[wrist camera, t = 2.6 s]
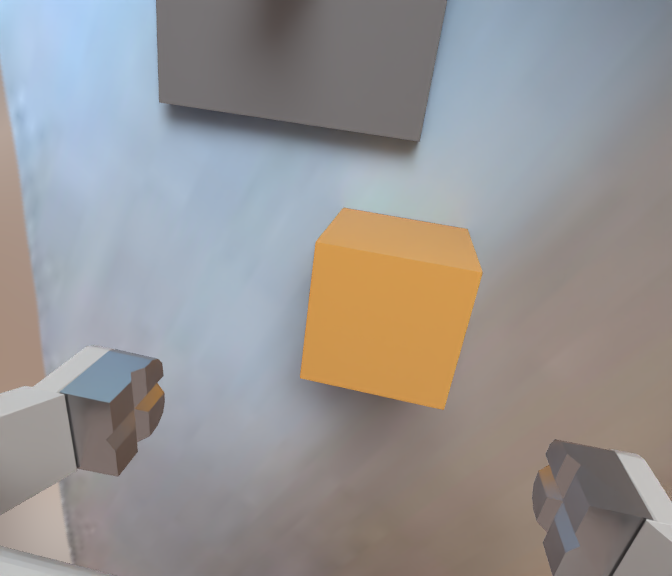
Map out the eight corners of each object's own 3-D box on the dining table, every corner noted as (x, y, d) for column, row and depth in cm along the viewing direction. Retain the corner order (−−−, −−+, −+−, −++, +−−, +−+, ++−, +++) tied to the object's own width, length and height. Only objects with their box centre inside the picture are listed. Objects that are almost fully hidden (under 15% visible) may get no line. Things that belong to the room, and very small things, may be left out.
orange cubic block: (439, 338, 19) (443, 409, 15) (328, 316, 20) (300, 378, 15) (467, 229, 17) (482, 272, 13) (343, 207, 18) (315, 241, 13)
